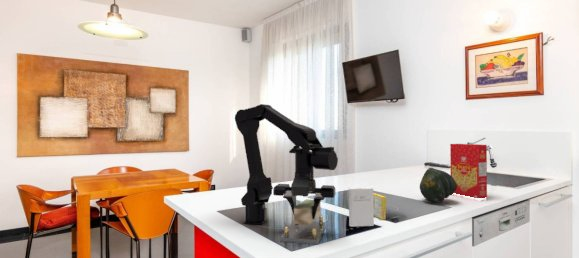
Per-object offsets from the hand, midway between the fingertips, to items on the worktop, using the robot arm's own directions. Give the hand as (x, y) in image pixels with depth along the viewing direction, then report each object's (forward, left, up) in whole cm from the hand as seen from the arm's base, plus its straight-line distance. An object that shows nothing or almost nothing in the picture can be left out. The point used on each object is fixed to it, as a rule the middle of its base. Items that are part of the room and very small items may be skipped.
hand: (304, 218), depth 101 cm
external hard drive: (+17, +12, -5) cm, 21 cm away
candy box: (+21, +28, -5) cm, 35 cm away
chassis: (0, 0, -5) cm, 5 cm away
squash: (+49, +54, -5) cm, 73 cm away
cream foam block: (+1, +3, -1) cm, 3 cm away
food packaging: (+65, +68, -5) cm, 94 cm away
